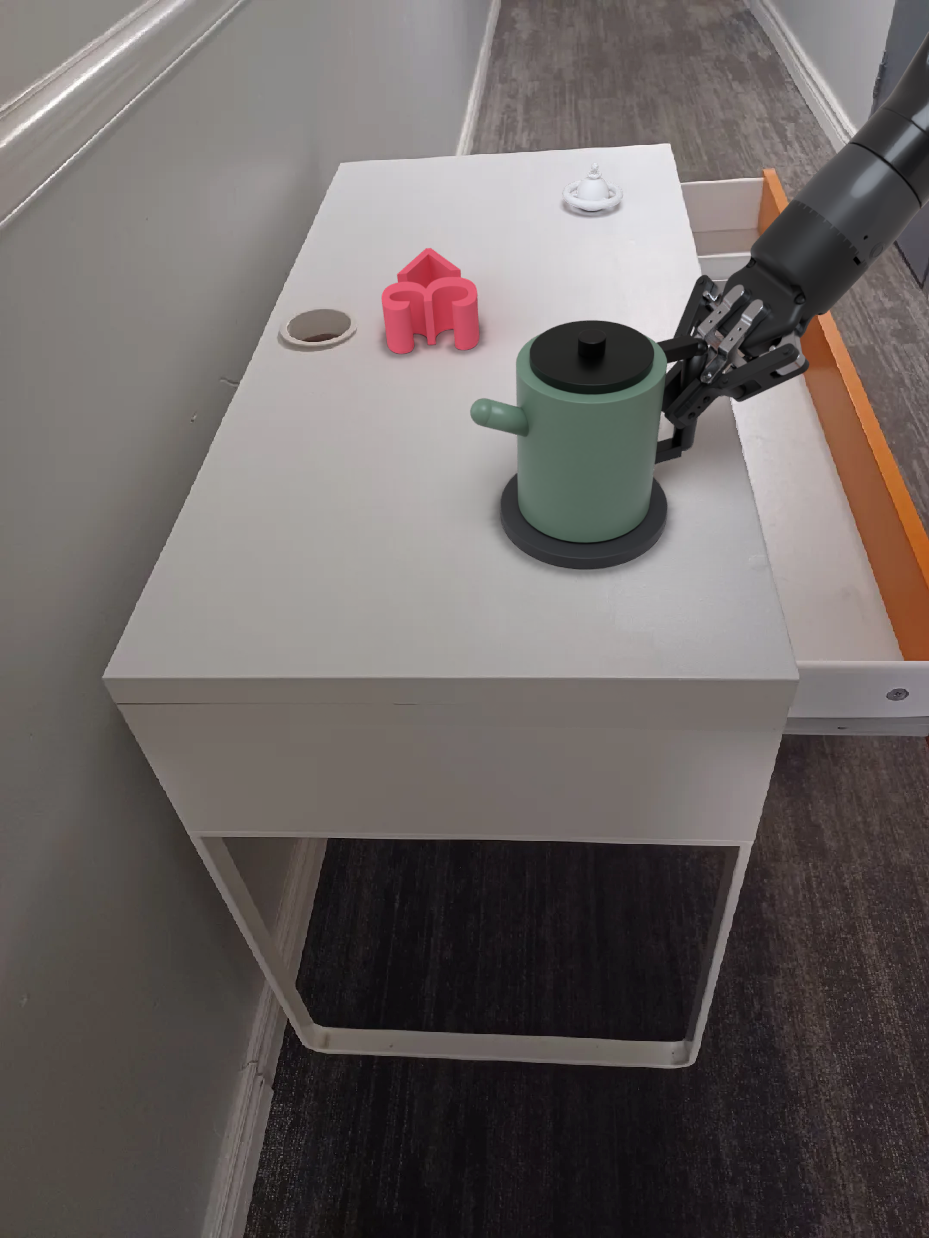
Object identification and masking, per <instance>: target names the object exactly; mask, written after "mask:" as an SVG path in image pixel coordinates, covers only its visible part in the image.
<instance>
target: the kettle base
mask: <svg viewBox="0 0 929 1238" xmlns="http://www.w3.org/2000/svg"><path fill="white" fill-rule="evenodd" d="M499 507H500V521H501V524H502V528H503V530H504V532H505V533H506V535H507V536H508V538H509V540H510V541H511V542H512V543H513V544H514V546H516V547H517V548H519V550H521V551H522V552H524V553H525V554H526V555H529V556H531V557H532V558H534V559H536V560H539V561H541V562H543V563H546V564H550V565H553V566H556V567H561V568H568V569H577V570H593V569H605V568H611V567H614V566H617V565H621V564H625V563H627V562H629V561H632V560H634V559H636V558H638V557H639V556H641V555H643V554H645V553H646V552H648V550H650V549H652V547H653V546H654V545H655V544H656V543H657V542H658V540H659V539H660V538H661V536H662V534H663V532H664V530H665V527H666V523H667V517H668V499H667V497H666V493H665V491H664V489H663V487H662V486H661V484H660V483H659V481H657V479H656V478H655V477H654V476H653V481H652V489H651V497H650V505H649V509H648V512H647V514H646V516H645V518H644V519H643V520H642V522H641V523H640V524H639V525H638V526H636V527H635V528H634V529H632V530H631V531H629V532H628V533H626V534H624V535H622V536H619V537H616V538H613V539H610V540H606V541H599V542H588V543H586V542H571V541H565V540H561V539H557V538H554V537H551V536H549V535H546V534H544V533H542V532H541V531H539V530H537V529H536V528H535V527H533V526H532V525H531V524H530V523H529V522H528V521H527V520H526V519H525V518H524V516H523V515H522V513H521V511H520V508H519V504H518V471H517V472H516V473H515V474H514V475H513V476H512V477H511V478H509V481H508V482H506V484H505V486H504V489H503V491H502V493H501V497H500V506H499Z"/></svg>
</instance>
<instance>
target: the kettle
mask: <svg viewBox="0 0 929 1238" xmlns="http://www.w3.org/2000/svg"><path fill="white" fill-rule="evenodd" d="M709 347H710V346H709V345H708V344H707V342H706V341H705V340H704V339H702V338H693V337H692V334H691V335H690V334H688V335H684V336H680V337H676V338H673V337H672V338H669V339H664V340H661V341H657V342H656V341H654V339H652V338H651V337H649V336H647V335H645V334H643V333H642V332H640V331H639V330H637V329H635V328H633V327H630V326H628V325H626V324H622V323H619V322H614V321H608V320H598V319H597V320H596V319H590V320H589V319H588V320H575V321H570V322H565V323H562V324H558V325H556V326H553V327H551V328H549V329H546V330H545V331H543V332H542V333H539V334H537V335H536V336H534V337H532V338H531V339H530V340H528V341H527V342H526V343H525V344H524V345H523V346H522V347H521V348H520V350H519V352H518V353H517V357H516V361H515V385H516V386H515V388H516V389H515V390H516V393H515V395H516V396H515V397H516V405H513V404H508V403H505V402H502V401H499V400H494V399H490V398H486V397H481V398H477V400H475V401H474V402H473V403H472V404H471V406H470V410H469V414H470V418H471V420H472V421H473V422H474V424H476V425H477V426H479V427H484V428H487V429H491V430H495V431H500V432H504V433H508V434H512V435H516V453H517V454H516V458H517V460H516V462H517V467H516V468H517V472H518V504H519V508H520V511H521V513H522V515H523V516H524V518H525V519H526V520H527V521H528V522H529V523H530V524H531V525H532V526H533V527H535V528H536V529H537V530H539V531H541V532H542V533H544V534H546V535H549V536H551V537H554V538H557V539H561V540H565V541H571V542H586V543H588V542H599V541H606V540H610V539H613V538H616V537H619V536H622V535H624V534H626V533H628V532H629V531H631V530H632V529H634V528H635V527H636V526H638V525H639V524H640V523H641V522H642V520H643V519H644V518H645V516H646V514H647V512H648V509H649V505H650V497H651V489H652V481H653V477H654V473H655V465H658V464H661V463H666V462H669V461H672V460H675V459H679V458H682V455H683V452H688V451H689V450H691V448H692V447H693V446H694V443H695V436H696V430H697V425H698V419H699V417H698V418H697V419H696V420H695V421H694V422H693V423H692V424H690V425H689V426H685V427H684V428H682V429H678V428H677V427H676V426H674V425H673V429H672V435H671V437H669V438H665V439H662V440H659V435H660V434H659V433H660V425H661V418H662V411H661V410H662V402H663V394H664V386H665V378H666V373H667V369H668V364H671V363H676V362H677V361H680V360H683V364H682V371H681V378H680V385H679V392H678V397H679V396H680V395H681V393H682V392H683V391H684V390H685V389H686V388H687V387H688V386H689V385H690V384H691V383H692V381H693V380H694V379H695V378H697V379H698V380H699V381H701V374H702V373H703V371H704V370H705V369H706V364H707V357H708V351H709Z"/></svg>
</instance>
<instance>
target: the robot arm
mask: <svg viewBox="0 0 929 1238" xmlns="http://www.w3.org/2000/svg"><path fill="white" fill-rule="evenodd" d="M928 202H929V31H928V32H927V33H926V35H925V37H924V39H923V40H922V42H921V44H920V45H919V47H918V49H917V50H916V52H915V54H914V55H913V57H912V58H911V60H910V62H909V64H908V65H907V67H906V69H905V70H904V72H903V74H902V75H901V77H900V79H899V80H898V82H897V83H896V85H895V87H894V88H893V90H892V91H891V92H890V95H889V96H887V98H886V99H885V101H883V103H882V104H881V105H880V106H879V107H878V108H877V109H876V111H875V112H874V113H873V114H872V115H871V116H870V117H869V119H867V120H866V122H865V123H864V124H863V125H862V126H861V127H860V128H859V130H858V131H857V132H856V133H855V134H854V135H853V137H852V138H851V139H850V140H849V141H848V142H847V144H845V145H844V146H843V147H842V148H841V149H840V150H839V151H838V152H837V153H836V154H835V155H834V156H833V157H831V158H830V159H829V160H828V161H827V162H826V163H825V164H824V165H823V166H822V167H821V168H820V169H818V171H817V172H816V173H815V174H814V175H813V176H812V177H811V178H810V179H809V180H808V182H807V183H806V184H805V185H804V186H803V187H802V189H801V190H799V192H798V193H797V194H796V195H795V196H794V198H793V199H792V200H791V201H790V202H789V203H788V204H787V206H786V207H784V209H783V210H782V211H781V212H780V213H779V215H777V217H776V218H775V219H774V220H773V221H772V222H771V223H770V225H768V227H767V228H766V229H765V230H764V232H762V234H760V236H759V237H758V238H757V239H756V240H755V241H754V242H753V244H752V245H751V247H750V251H749V253H750V258H749V261H748V262H747V264H746V265H744V266H743V267H742V268H740V269H739V270H737V271H735V272H733V273H732V274H730V276H729V277H728V278H727V280H712V279H711V278H710V276H709V275H707V274H702V275H701V276H699V277H698V278H697V279H696V281H695V283H694V285H693V288H692V291H691V293H690V295H689V297H688V300H687V303H686V305H685V308H684V310H683V313H682V315H681V317H680V320H679V321H678V325H677V327H676V330H675V332H674V335H673V336H672V338H676V337H680V336H684V335H688V334H690V335H691V336H692V337H693V338H702V339H704V340H705V341H706V342H707V344H708V347H709V351H708V357H707V364H706V369H705V370H704V371H703V373H702V374H701V381H699V380H698V379H697V378H695V379H694V380H693V381H692V383H691V384H690V385H689V386H688V387H687V388H686V389H685V390H684V391H683V392H682V393H681V395H680V396H679V397H678V392H679V385H680V378H681V371H682V364H683V360H680V361H676V362H674V364H673V366H671V368H670V369H669V370H668V371H666V378H665V386H664V394H663V402H662V410H661V413H663V415H664V418H665V419H666V420H667V421H668V422H669V423H670V424H671V425H673V427H674V426H676V427H677V428H678V429H682V428H684V427H685V426H689V425H690V424H692V423H693V422H694V421H695V420H696V419H697V418H698V419H699V417H700V416H701V415H702V414H703V413H704V412H705V411H706V410H707V409H708V408H709V407H710V406H711V405H712V403H713V402H714V401H716V399H717V398H719V397H722V398H723V397H728V398H732V399H733V400H734V401H735V402H736V403H737V402H738V403H741V402H744V401H746V400H748V399H751V398H754V397H755V396H757V395H759V394H762V393H764V392H766V391H768V390H771V389H772V388H774V387H777V386H779V385H781V384H783V383H785V382H787V381H790V380H792V379H794V378H797V377H798V376H800V375H803V374H804V373H806V372H807V371H808V369H809V368H810V361H809V360H808V358H806V356H805V355H804V354H803V350H802V344H801V343H802V342H801V339H802V338H803V336H804V335H805V333H806V332H807V330H808V327H809V324H810V323H811V321H812V320H813V318H814V317H815V316H824V315H825V314H827V313H828V312H829V311H830V310H831V309H832V308H833V307H834V306H835V305H836V304H837V303H838V302H839V300H840V299H841V298H842V297H843V296H844V295H846V293H848V291H849V290H850V289H851V288H852V287H853V286H854V285H855V284H856V283H857V282H858V281H859V280H860V279H861V277H863V275H864V274H865V273H866V272H867V271H868V270H869V269H870V268H871V267H872V266H873V265H874V264H875V263H876V262H877V260H879V259H880V257H881V256H883V254H885V252H886V251H887V250H888V249H889V248H890V247H891V246H892V245H893V244H894V243H895V241H896V240H897V239H898V238H899V237H900V236H901V234H902V233H903V232H904V230H905V229H906V228H907V227H908V225H909V223H910V222H911V221H912V220H913V218H914V217H915V216H916V215H917V214H918V212H919V211H920V210H922V209H923V207H925V205H926V204H928ZM716 332H718V333H719V334H720V335H721V336H722V337H719V336H717V335H716ZM738 351H739V352H740V353H741V354H742V355H743V356H741V355H740V354H739V352H738ZM727 368H728V369H727ZM725 370H726V371H725ZM698 419H697V420H698Z"/></svg>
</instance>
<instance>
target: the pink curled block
mask: <svg viewBox="0 0 929 1238" xmlns="http://www.w3.org/2000/svg"><path fill="white" fill-rule="evenodd" d="M396 278H397V282H393V283H391V284H389V285H388V286H387V287H385V288H384V289H383V291H382V292H381V293H382V294H381V306H382V313H383V321H384V329H385V337H386V342H387V348H388V349H389V350H390V351H391V352H393V353H395V354H399V355H402V354H408V353H411V352H412V351H413V350H414V348H415V339H414V335H415V334H416V335H422V336H424V337H425V338H426V340H427V345H428V346H433V345H436V342H437V341H436V338H437V336H438V335H439V334H440V333H442V332H445V331H449V330H453V337H454V347H455V348H456V349H457V350H460V351H461V350H462V351H467V350H471V349H473V348H475V347H476V346H477V345H478V343H479V341H480V321H479V304H478V302H479V301H478V300H479V299H478V298H479V297H478V289H477V286H476V284H475V283H474V282H473V281H472V280H470V279H468V278H465V277H462V270H461V268H459V267H458V266H456V265H455V264H453V263H452V262H450V260H448V259H447V258H446V257H444V256H442V255H441V254H439V253H438V252H437V251H436V250H435V249H433V248H432V247H426V248H424V249H423V250H422V251H421V252H420V253H419V254H418V255H416V256H415V257H414V258H413V259H412V260H411V261H410V262H409V263H407V264H406V265H405V266H404V267H403V268H402V269H401V270H399V272H398V273H397V274H396Z"/></svg>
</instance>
